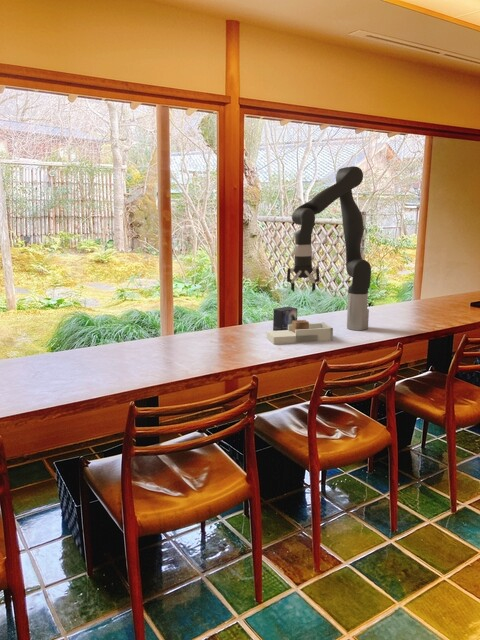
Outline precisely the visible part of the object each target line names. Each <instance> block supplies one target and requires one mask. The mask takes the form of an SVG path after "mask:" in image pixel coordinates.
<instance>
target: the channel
mask: <svg viewBox="0 0 480 640" xmlns="http://www.w3.org/2000/svg"><path fill="white" fill-rule="evenodd" d="M333 334H334V327H333V326H330V325H328V324H326V323H325V322H313V323H312V322H311V323H310V322H309V329H299V330H295V333H293V332H292V324H291V325H288V330H281V331H275V330H266V337H265V338H266V339H267V340H268V341H269V342H270V343H272V344H273V345H280V344H281V345H282V344H296V343H298V342H299V343H312V342H324V341H325V342H327V341H333V338H334V337H333Z"/></svg>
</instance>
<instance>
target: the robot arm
mask: <svg viewBox="0 0 480 640" xmlns="http://www.w3.org/2000/svg"><path fill="white" fill-rule="evenodd" d="M363 179H364V174H363V169H361V168H360V167H358V166H355V165H353V166H345V167H342V168H339V169H338V170H337V171H336V176H335V182H336V183H334V184H332V185H330V186H328V187H326V188H324V189H323V190H321V191H319V192H318V193H317V194H316V195H315V196H313V197H312V198H311V199H310V200H308V201H307V202H304V203H303V204H301V205H300V206H297V208H296V209H294V211H293V212H292V215H291V221H292V222H293V223H294V224H295V225H299V226H300V230H296V232H295V234H294V235H295V236H294V238H295V239H294V241H295V242H294V253H293V254H294V268H291V267H288V268H287V271H286V272H287V273H286V282H287V283H290V290H291V291H292V292H293V293H294V292H295V281H296V280H297V279H298V278H300V279H302V278H303V279H307V278H308V279H309V280H310V281H311V282H312V283H311V292H314V291H315V290H316V283H318V282H320V268H319V267H314V268H313V248H312V233H313V230H314V226H315V222H316V215H318V214H321V213H322V212H323V211H324V210H325V209H327V208H328V207H329V206H330V205H331V204H333V203H334V202H335V201H336V200H338V199H339V202H340V209H341V210H340V211H341V218H342V219H341V221H342V229H343V230H342V231H343V235H344V236H343V237H344V238H343V239H344V244H345V268H346V273H347V275H348V276H350V277H351V278H352V281H351V285H349V286H348V288H347V313H346V315H347V317H346V329H348V330H352V331H364V330H366V329H367V330H368V329H369V319H370V318H369V315H370V313H369V312H370V310H369V308H368V302H369V301H368V299H369V297H368V296H369V289H370V287H371V280H372V278H371V277H372V266H371V264H370V262H369V261H368V260H366V259H363V258H362V254H361V253H362V252H361V244H362V241H363V237H364V230H365V229H364V220H363V217H364V216H363V214H362V212H361V210H360V208H359V206H358V205H357V203H356V202H355V200H354V199H355V198H354V195H353V191H352V190H354V189H355V188H356V187H358V186H360V185H361V184H362V182H363ZM313 272H314V274H316V276H315V277H316V279H315V278H314V277H313V276H312V273H313ZM292 273H294V274H295V275H294V277H293V278H292V279H291V274H292Z"/></svg>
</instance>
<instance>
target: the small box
mask: <svg viewBox="0 0 480 640" xmlns="http://www.w3.org/2000/svg"><path fill="white" fill-rule="evenodd" d="M272 315H273V319H272V321H273V323H272V325H273V326H272V331H281V330H288V325H291V324H292V321H294V320H298V308H297V307H294V306H291V305H289V306H283V307H282V306H281V307H276V308H273V314H272Z"/></svg>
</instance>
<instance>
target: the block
mask: <svg viewBox="0 0 480 640" xmlns="http://www.w3.org/2000/svg"><path fill="white" fill-rule="evenodd" d="M309 323H310V322H309V321H307V320H306V319H297V320H294V321H292V332H293V333H295V330H299V329H309Z"/></svg>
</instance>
